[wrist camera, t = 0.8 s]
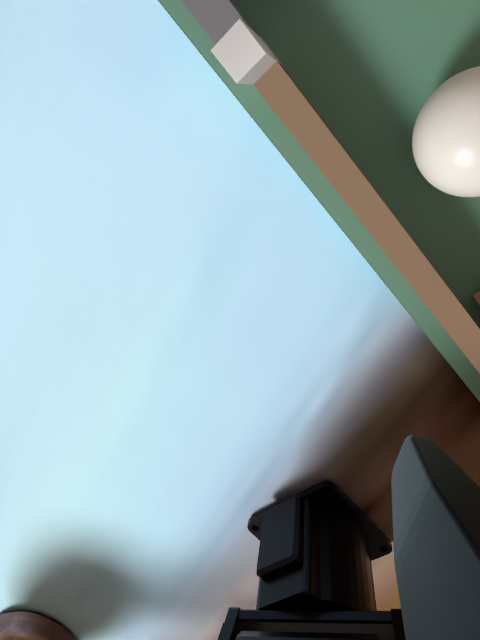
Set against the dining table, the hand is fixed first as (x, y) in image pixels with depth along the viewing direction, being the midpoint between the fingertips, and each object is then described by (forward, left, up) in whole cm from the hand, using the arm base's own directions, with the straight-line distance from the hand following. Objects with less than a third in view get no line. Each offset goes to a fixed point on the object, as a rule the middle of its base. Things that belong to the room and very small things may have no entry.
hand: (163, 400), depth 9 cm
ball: (-2, -8, -11) cm, 14 cm away
